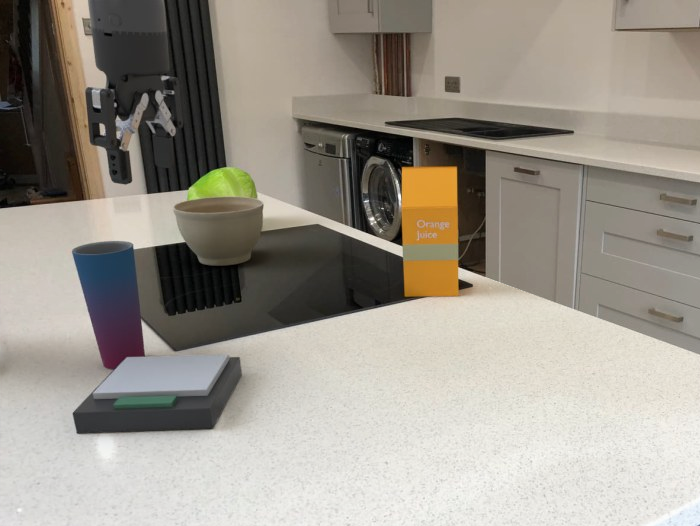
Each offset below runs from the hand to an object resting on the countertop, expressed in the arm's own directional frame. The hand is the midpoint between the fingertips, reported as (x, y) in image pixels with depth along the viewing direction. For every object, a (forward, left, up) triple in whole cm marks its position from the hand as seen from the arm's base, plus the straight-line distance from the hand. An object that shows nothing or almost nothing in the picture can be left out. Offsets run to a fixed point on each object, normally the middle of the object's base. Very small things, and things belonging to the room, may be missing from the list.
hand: (144, 174), depth 86 cm
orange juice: (+34, +27, -24) cm, 50 cm away
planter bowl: (-5, +49, -24) cm, 55 cm away
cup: (-6, 0, -24) cm, 24 cm away
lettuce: (-11, +77, -24) cm, 82 cm away
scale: (+3, -13, -24) cm, 27 cm away
